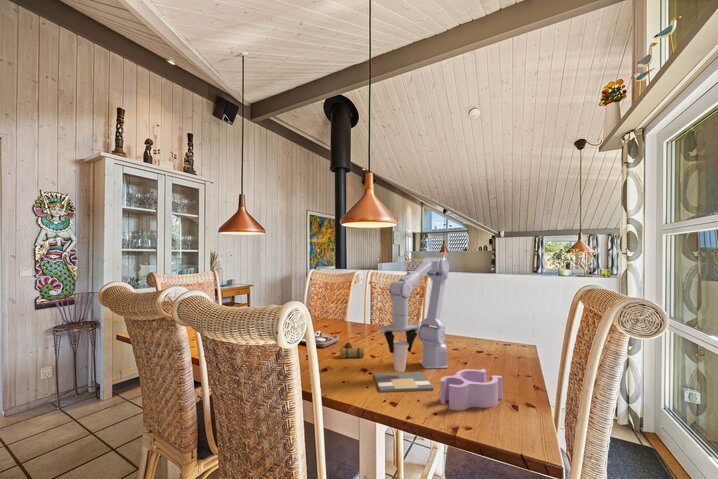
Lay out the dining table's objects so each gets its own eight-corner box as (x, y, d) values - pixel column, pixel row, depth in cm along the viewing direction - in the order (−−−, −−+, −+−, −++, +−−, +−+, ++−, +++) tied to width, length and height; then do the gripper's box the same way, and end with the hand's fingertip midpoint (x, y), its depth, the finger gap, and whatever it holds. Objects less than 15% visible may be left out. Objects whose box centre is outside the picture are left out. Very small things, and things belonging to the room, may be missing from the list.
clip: (460, 416, 90) (459, 391, 90) (432, 398, 101) (431, 375, 101) (509, 402, 98) (509, 379, 98) (478, 387, 109) (478, 366, 110)
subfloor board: (421, 374, 120) (421, 371, 120) (433, 390, 106) (433, 387, 106) (374, 375, 118) (374, 373, 118) (380, 392, 104) (380, 389, 104)
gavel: (337, 339, 157) (357, 338, 159) (337, 348, 157) (357, 348, 158) (341, 349, 137) (363, 348, 138) (341, 360, 136) (364, 359, 138)
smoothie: (405, 374, 111) (406, 334, 111) (388, 371, 114) (389, 332, 114) (410, 368, 117) (411, 330, 117) (394, 365, 120) (394, 328, 120)
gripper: (413, 311, 122) (413, 347, 121) (377, 312, 118) (377, 349, 118) (422, 314, 115) (422, 352, 114) (384, 316, 111) (384, 355, 111)
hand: (400, 351), depth 116 cm, fingers closed on smoothie, 6 cm apart
